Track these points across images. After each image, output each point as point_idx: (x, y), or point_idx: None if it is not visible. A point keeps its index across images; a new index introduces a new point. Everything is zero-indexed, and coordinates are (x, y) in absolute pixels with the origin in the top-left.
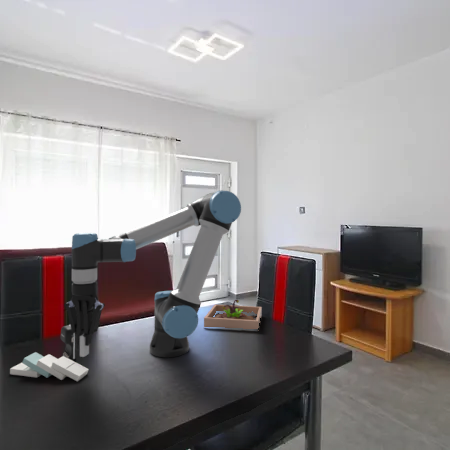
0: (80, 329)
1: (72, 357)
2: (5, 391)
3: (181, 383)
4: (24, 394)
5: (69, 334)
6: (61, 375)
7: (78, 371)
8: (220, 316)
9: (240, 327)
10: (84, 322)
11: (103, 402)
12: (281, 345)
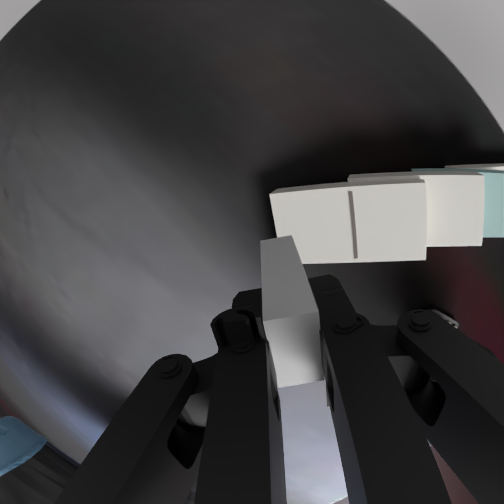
0: (334, 372)
1: None
2: (448, 60)
3: (11, 301)
4: (383, 49)
5: None
6: (356, 176)
7: (297, 217)
8: None
9: None
10: (266, 480)
11: (77, 122)
12: None
